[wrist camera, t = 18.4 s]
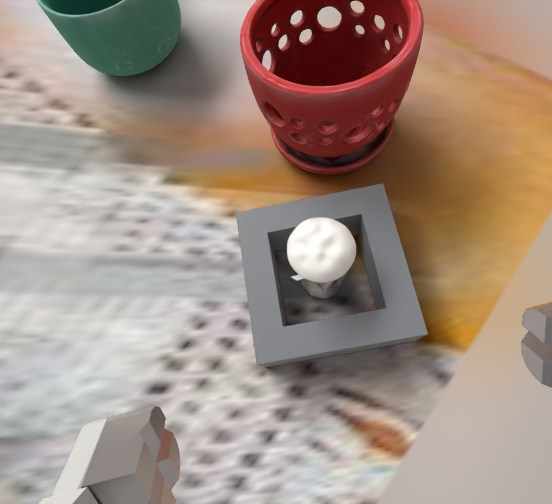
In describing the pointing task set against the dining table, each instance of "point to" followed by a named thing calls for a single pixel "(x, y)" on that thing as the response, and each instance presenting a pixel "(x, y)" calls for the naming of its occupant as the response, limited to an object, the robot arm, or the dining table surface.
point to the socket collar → (379, 266)
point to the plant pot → (331, 78)
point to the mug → (117, 31)
